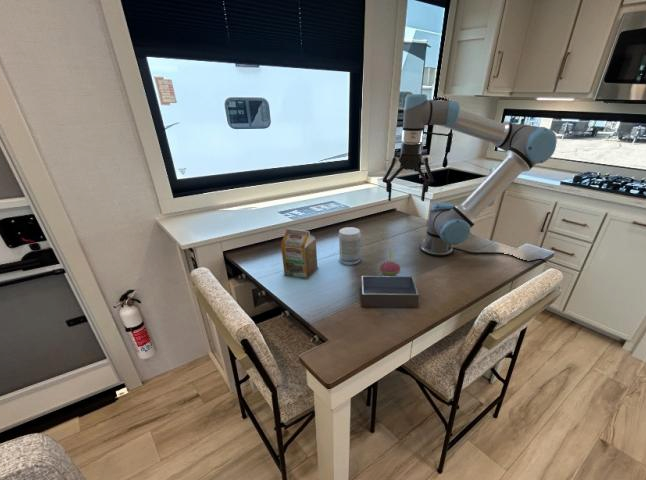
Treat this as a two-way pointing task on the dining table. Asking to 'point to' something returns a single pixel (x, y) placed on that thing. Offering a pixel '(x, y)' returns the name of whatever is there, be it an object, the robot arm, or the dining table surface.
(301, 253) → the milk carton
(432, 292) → the dining table surface
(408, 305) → the open rectangular bin
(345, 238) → the supplement tub
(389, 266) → the cupcake
